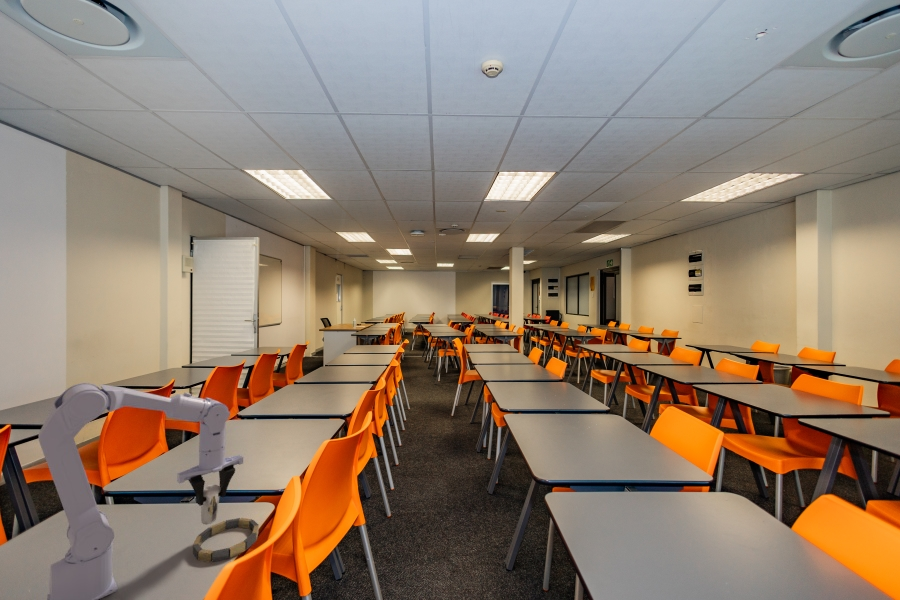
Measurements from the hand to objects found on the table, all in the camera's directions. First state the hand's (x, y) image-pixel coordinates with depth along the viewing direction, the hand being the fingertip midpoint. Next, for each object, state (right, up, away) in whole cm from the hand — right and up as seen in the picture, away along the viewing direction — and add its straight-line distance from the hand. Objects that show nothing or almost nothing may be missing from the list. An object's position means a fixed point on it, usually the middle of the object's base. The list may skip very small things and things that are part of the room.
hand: (211, 499), depth 94 cm
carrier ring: (+5, -11, -1) cm, 11 cm away
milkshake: (-1, -6, +1) cm, 6 cm away
